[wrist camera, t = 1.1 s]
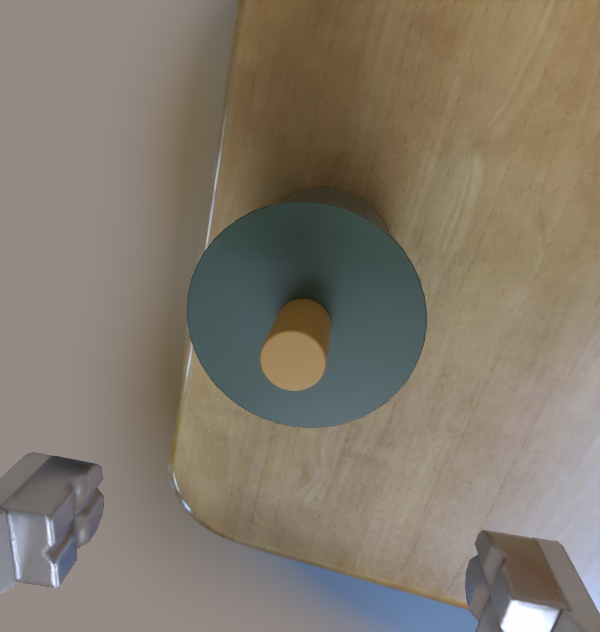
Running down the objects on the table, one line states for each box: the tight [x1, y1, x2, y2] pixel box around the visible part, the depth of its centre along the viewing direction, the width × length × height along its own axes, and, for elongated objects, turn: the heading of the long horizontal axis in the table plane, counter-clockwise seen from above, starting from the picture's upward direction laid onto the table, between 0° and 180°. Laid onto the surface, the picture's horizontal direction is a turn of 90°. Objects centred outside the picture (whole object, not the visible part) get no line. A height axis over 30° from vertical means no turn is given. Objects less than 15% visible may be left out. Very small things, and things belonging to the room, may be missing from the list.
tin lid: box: [187, 200, 427, 428], centre depth 20 cm, size 11×11×5 cm
